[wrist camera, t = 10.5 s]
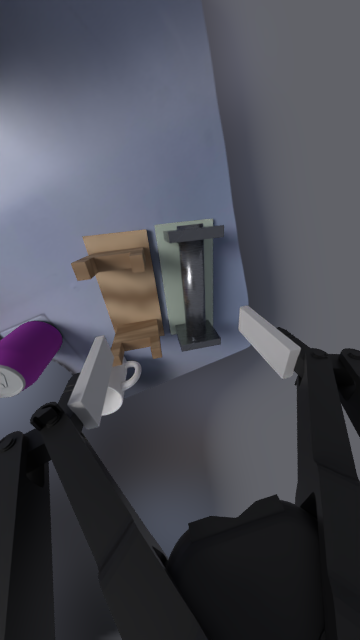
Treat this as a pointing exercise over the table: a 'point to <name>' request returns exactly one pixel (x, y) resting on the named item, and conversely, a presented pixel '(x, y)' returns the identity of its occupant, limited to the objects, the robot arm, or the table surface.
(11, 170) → the table surface
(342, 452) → the robot arm
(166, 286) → the mat
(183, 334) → the rod
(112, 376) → the mug
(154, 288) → the cradle
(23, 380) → the beverage can
